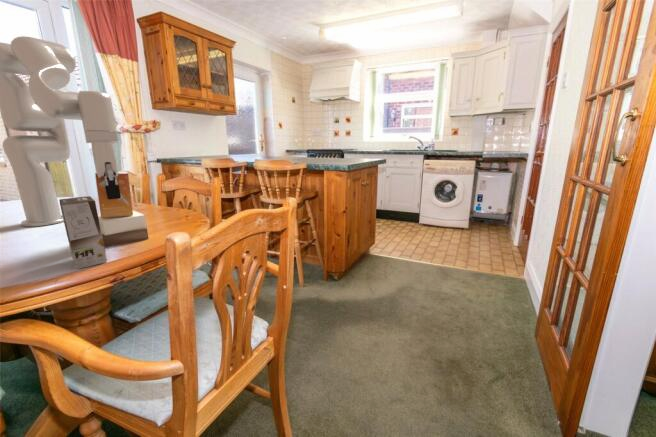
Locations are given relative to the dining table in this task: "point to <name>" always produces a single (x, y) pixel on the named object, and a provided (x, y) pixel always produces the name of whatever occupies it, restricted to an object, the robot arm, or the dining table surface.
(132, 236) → the base block
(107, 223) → the top block
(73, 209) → the coffee box
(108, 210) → the small box
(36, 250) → the dining table surface
